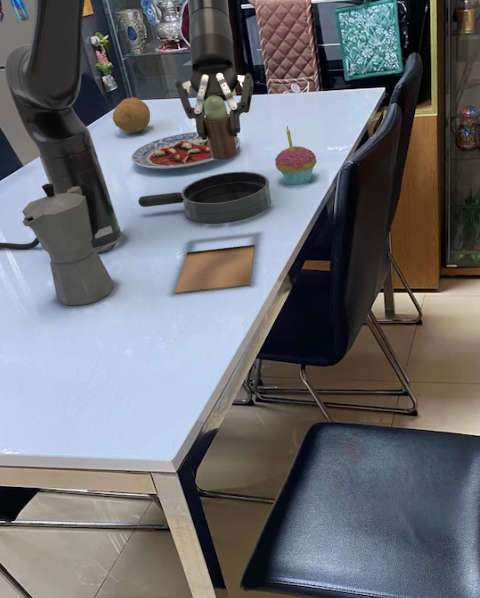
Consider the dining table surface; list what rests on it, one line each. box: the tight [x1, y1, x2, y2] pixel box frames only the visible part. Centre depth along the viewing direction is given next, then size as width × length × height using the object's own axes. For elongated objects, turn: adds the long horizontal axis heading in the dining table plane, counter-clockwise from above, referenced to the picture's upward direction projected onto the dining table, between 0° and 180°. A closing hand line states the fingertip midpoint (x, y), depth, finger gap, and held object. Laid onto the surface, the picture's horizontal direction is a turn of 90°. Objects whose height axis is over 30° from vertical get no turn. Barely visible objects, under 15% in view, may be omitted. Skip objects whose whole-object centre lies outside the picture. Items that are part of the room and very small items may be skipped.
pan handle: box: [138, 191, 183, 208], centre depth 138 cm, size 9×2×2 cm, turn 93°
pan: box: [181, 171, 273, 224], centre depth 138 cm, size 17×17×4 cm
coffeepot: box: [21, 183, 115, 306], centre depth 112 cm, size 15×9×18 cm, turn 159°
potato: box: [112, 97, 151, 134], centre depth 189 cm, size 10×14×8 cm
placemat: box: [174, 244, 256, 294], centre depth 121 cm, size 12×20×1 cm, turn 3°
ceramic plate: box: [130, 131, 241, 170], centre depth 168 cm, size 26×26×3 cm
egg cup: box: [203, 95, 239, 160], centre depth 125 cm, size 5×5×10 cm
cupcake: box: [274, 125, 317, 185], centre depth 144 cm, size 9×8×12 cm
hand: (219, 135), depth 124 cm, fingers closed on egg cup, 4 cm apart
